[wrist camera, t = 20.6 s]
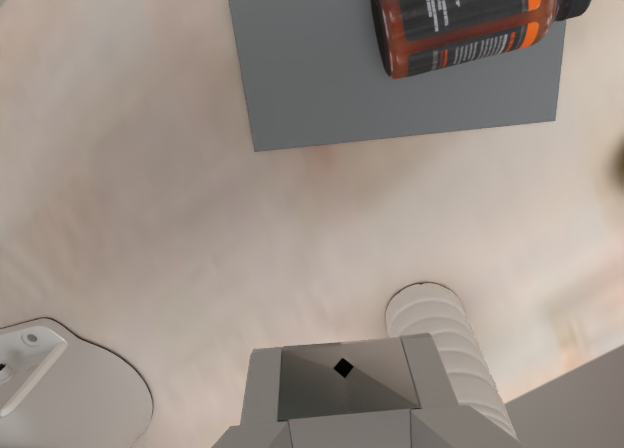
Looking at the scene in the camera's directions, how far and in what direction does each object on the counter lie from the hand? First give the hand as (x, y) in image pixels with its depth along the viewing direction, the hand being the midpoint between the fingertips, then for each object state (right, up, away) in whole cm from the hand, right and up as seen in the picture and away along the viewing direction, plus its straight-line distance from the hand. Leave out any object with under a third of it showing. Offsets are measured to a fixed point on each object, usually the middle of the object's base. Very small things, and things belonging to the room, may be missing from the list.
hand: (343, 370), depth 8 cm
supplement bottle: (+3, +14, +20) cm, 24 cm away
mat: (+5, +15, +23) cm, 28 cm away
